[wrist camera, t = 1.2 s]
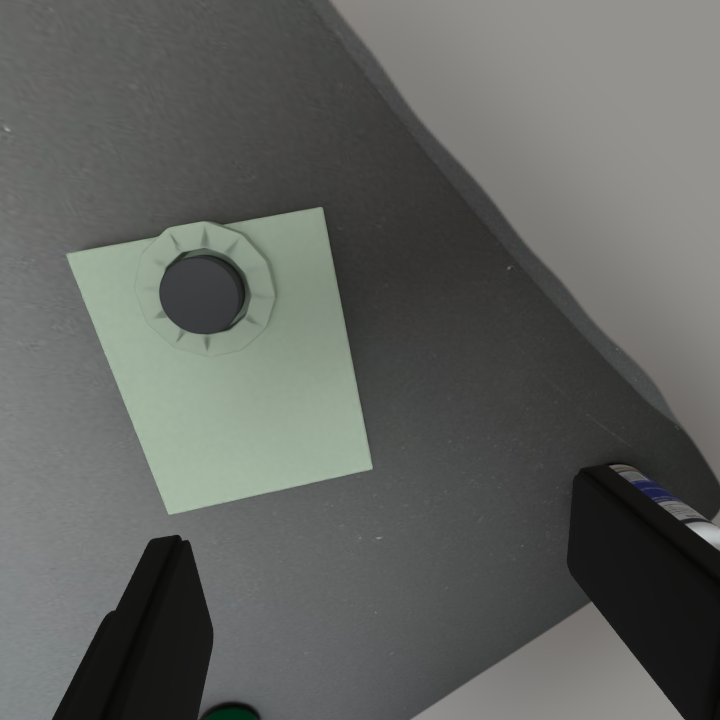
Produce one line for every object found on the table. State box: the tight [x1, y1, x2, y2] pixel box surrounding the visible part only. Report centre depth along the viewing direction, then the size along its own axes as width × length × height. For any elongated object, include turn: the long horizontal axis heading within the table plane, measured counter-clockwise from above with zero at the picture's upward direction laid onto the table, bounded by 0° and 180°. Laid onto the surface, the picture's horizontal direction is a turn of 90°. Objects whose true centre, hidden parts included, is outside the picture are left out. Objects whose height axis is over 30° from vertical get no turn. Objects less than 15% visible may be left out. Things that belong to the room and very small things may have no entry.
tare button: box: [159, 255, 245, 334], centre depth 20 cm, size 4×4×2 cm
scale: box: [66, 207, 373, 515], centre depth 24 cm, size 16×13×4 cm
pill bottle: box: [609, 465, 720, 551], centre depth 27 cm, size 6×6×10 cm
